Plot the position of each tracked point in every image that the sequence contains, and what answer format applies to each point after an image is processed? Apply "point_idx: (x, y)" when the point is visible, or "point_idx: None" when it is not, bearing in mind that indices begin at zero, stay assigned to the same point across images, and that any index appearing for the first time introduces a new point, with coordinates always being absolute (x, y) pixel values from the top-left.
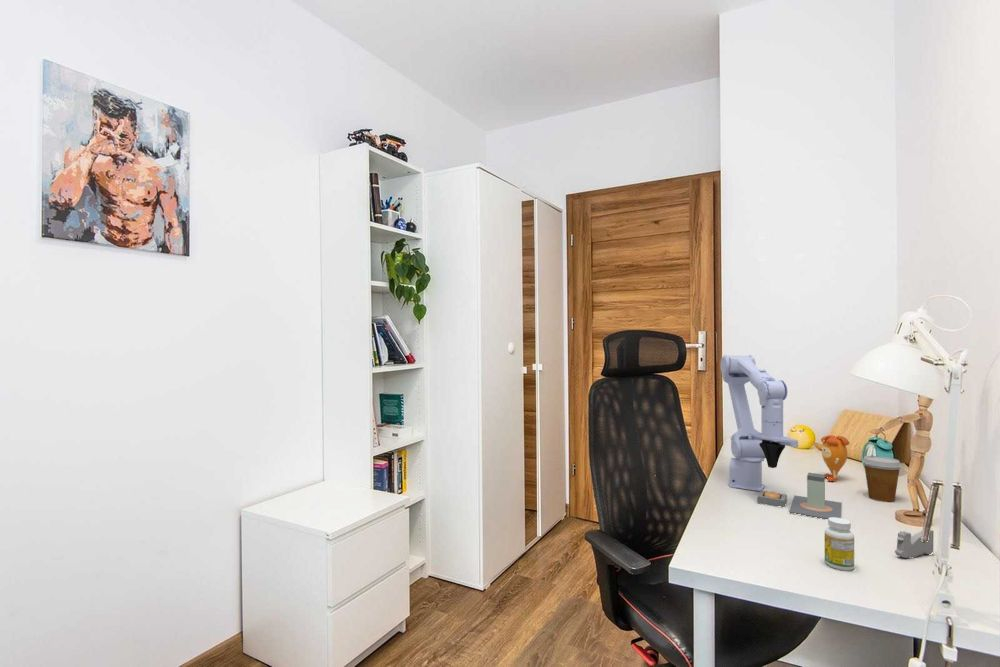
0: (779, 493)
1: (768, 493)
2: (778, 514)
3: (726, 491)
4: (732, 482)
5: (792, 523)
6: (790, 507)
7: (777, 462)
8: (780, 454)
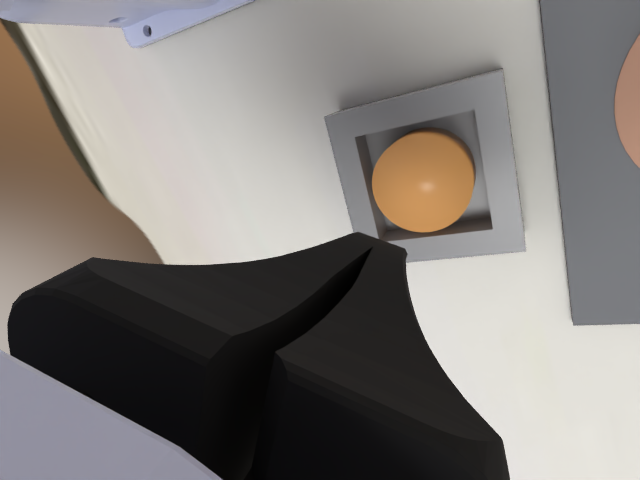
0: (447, 87)
1: (400, 200)
2: (524, 368)
3: (178, 149)
4: (122, 23)
5: (621, 464)
6: (565, 235)
7: (405, 275)
8: (421, 335)
